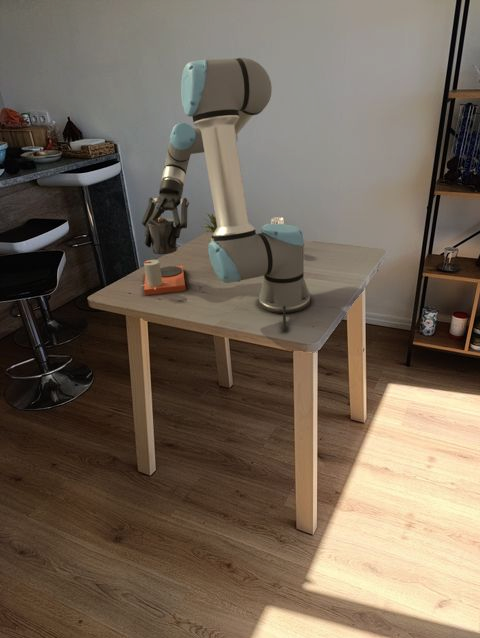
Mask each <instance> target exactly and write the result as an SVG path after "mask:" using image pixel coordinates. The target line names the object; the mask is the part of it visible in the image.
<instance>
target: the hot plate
mask: <svg viewBox="0 0 480 638" xmlns="http://www.w3.org/2000/svg"><path fill="white" fill-rule="evenodd" d="M175 267H180V268H181V269H182V272H181V273H180V274H178V275H176V276H172V277H162V282H163V284H162V285H160V286H157V287H149V286H148V284H147V278H146V273H145V272H144V284H141V287H143V291H144V296H152V295H161V294H169V293H170V294H171V293H177V292H178V293H179V292H185V291H186V290H187V289H186V282H185V273H184V265H183V264H182V265H175Z"/></svg>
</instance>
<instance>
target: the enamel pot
mask: <svg viewBox="0 0 480 638" xmlns="http://www.w3.org/2000/svg"><path fill="white" fill-rule="evenodd" d="M148 226H149V230H150V236H151V241H152V243H151V248H152V252H153V254H155V255H169V254H173V253H176V251H178V246H177V243H176V245H175V248H172V247H171V246H170V245H169V244H170V239H171V234H172V229H173V226H175V221H174V218H170V217H169V218H168V217H162V216H160V217H159V218H158V219H154V220H151V221H149V222H148Z"/></svg>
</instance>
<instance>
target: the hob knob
mask: <svg viewBox="0 0 480 638" xmlns="http://www.w3.org/2000/svg"><path fill="white" fill-rule="evenodd" d="M160 265H161V264H160V261H159V260H158V259H149V260H146V261H143V266H144V274H145V273H146V278H147V284H148V286H149V287H157V286H160V285H162V284H163V282H162V276H161V271H160V268H161V266H160Z"/></svg>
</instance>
